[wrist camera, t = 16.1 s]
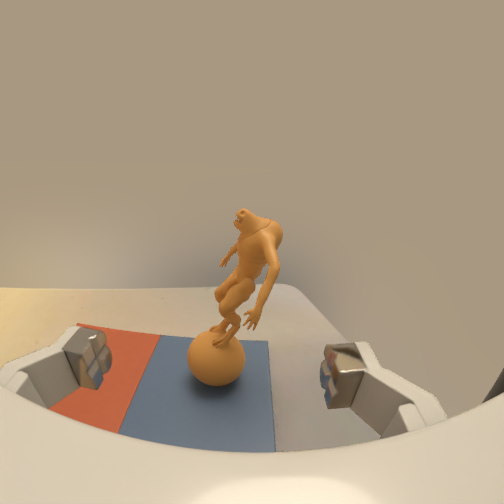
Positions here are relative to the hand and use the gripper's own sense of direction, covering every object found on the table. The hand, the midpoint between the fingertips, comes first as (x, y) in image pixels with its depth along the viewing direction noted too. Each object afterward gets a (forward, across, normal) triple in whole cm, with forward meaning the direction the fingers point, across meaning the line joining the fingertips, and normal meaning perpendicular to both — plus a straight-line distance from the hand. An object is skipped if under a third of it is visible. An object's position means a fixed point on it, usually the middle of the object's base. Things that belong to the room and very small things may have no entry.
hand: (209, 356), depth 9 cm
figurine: (+7, 0, +8) cm, 11 cm away
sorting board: (+5, +6, +9) cm, 12 cm away
